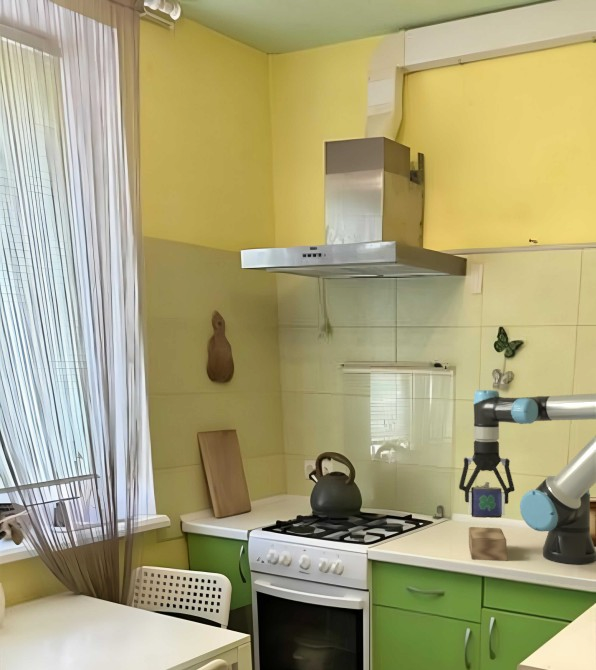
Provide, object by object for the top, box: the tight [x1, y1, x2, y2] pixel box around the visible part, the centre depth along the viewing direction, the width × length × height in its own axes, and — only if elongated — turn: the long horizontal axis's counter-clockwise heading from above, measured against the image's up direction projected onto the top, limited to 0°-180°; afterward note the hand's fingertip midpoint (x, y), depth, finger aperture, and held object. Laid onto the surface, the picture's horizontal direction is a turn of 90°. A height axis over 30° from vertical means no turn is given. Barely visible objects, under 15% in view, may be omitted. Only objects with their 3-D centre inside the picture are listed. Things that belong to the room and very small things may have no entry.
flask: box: [470, 481, 503, 519], centre depth 232 cm, size 9×3×11 cm, turn 87°
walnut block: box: [468, 526, 508, 562], centre depth 231 cm, size 10×16×6 cm, turn 170°
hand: (486, 513), depth 231 cm, fingers closed on flask, 9 cm apart
